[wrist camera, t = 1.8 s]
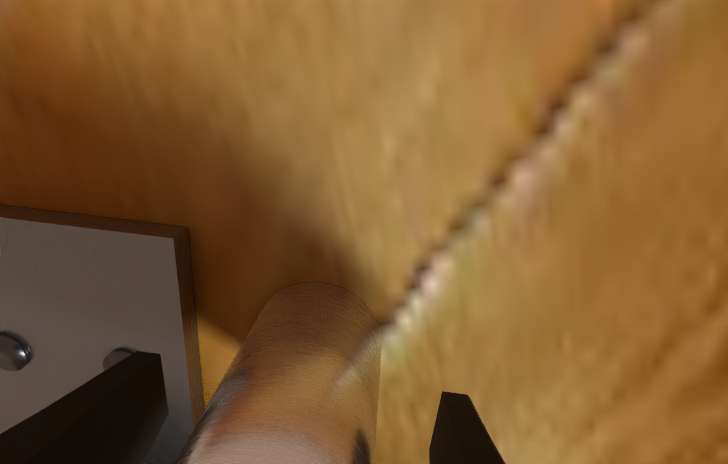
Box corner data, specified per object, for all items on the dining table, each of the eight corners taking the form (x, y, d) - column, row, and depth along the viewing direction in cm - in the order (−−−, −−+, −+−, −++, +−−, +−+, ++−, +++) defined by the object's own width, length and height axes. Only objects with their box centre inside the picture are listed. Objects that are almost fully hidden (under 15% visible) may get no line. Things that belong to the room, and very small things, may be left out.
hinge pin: (412, 275, 11) (435, 684, 4) (390, 408, 13) (379, 846, 6) (236, 254, 12) (-69, 600, 4) (241, 388, 14) (45, 784, 6)
